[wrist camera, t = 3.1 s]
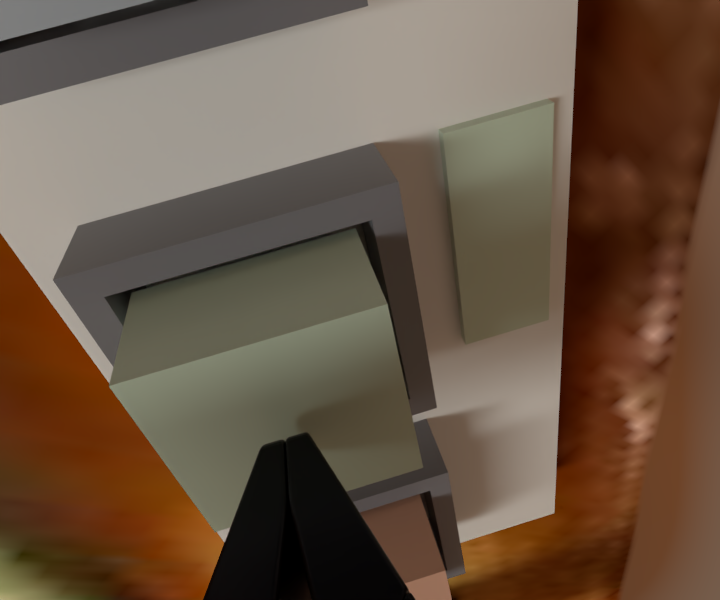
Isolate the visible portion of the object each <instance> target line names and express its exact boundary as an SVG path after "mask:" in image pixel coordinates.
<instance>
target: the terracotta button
mask: <svg viewBox="0 0 720 600" xmlns="http://www.w3.org/2000/svg"><path fill="white" fill-rule="evenodd" d="M360 514H361V515H362V517H363V518H364V520H365V522H366V523H367V525H368V526H369V528H370V529H371V531H372V533H373V534H374V536H375V537H376V539H377V540H378V542H379V544H380V545H381V547H382V548H383V550H384V551H385V553H386V554H387V556H388V558H389V559H390V561H391V562H392V564H393V565H394V567H395V569H396V570H397V572H398V573H399V575H400V576H401V578H402V580H403V581H404V583H405V584H406V586H407V587H408V590H409V593H412V595H413V596H414V598H415V599H416V600H452V598H451V593H450V589H449V584H448V580H447V575H446V570H445V568H444V565H443V562H442V559H441V556H440V553H439V550H438V547H437V544H436V541H435V538H434V535H433V532H432V529H431V526H430V523H429V520H428V517H427V514H426V511H425V508H424V506H423V503H422V500H421V497H420V494H418V495H414V496H411V497H408V498H405V499H401V500H398V501H395V502H392V503H389V504H385V505H382V506H379V507H376V508H373V509H369V510H366V511H363V512H360Z"/></svg>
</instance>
